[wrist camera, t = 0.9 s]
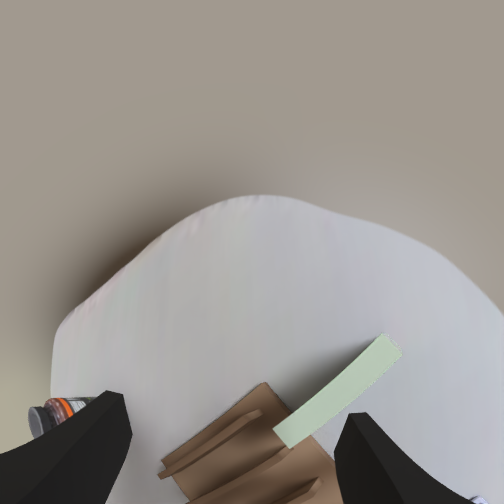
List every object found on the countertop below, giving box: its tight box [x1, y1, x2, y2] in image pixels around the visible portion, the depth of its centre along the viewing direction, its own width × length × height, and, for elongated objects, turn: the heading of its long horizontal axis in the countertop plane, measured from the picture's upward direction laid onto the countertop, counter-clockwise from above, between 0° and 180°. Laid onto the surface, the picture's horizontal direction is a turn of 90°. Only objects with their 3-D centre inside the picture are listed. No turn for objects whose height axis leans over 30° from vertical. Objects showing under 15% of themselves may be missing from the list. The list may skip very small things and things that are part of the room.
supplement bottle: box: [28, 397, 97, 439], centre depth 24 cm, size 6×6×11 cm
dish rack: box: [158, 382, 343, 504], centre depth 18 cm, size 15×15×4 cm
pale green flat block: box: [273, 333, 403, 449], centre depth 17 cm, size 2×8×7 cm, turn 131°
